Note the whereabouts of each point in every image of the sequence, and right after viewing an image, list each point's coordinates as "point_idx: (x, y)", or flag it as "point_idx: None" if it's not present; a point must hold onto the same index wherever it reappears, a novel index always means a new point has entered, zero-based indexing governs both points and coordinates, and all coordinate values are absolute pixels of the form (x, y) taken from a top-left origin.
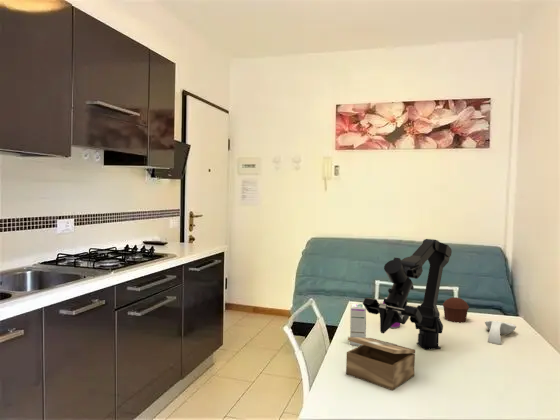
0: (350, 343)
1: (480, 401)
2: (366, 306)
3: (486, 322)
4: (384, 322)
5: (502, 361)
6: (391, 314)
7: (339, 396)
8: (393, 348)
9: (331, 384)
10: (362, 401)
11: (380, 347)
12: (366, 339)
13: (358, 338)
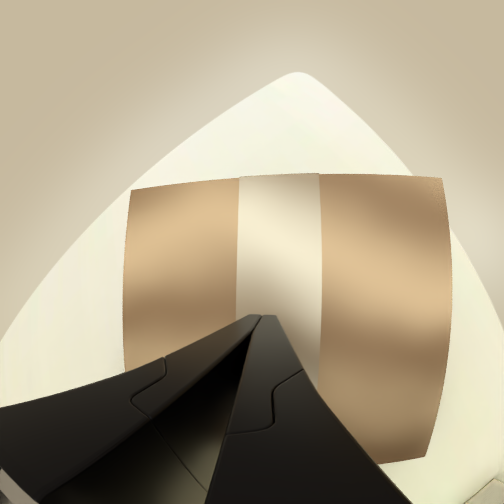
0: (495, 479)
1: (45, 340)
2: None
3: None
4: (219, 351)
5: None
6: (48, 402)
7: (301, 133)
8: (154, 243)
9: (363, 165)
10: (244, 150)
11: (209, 183)
12: (398, 325)
13: (422, 254)
